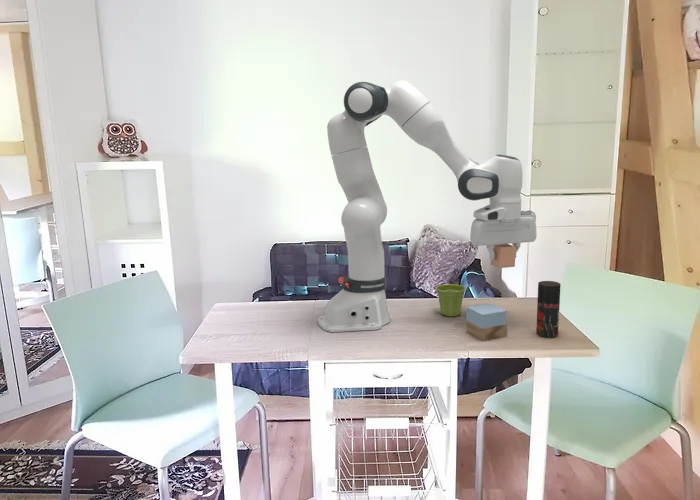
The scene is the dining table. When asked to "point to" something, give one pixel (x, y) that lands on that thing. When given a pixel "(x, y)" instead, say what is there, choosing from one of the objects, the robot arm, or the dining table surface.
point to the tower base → (487, 331)
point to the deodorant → (548, 309)
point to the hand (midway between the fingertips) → (502, 258)
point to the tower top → (486, 315)
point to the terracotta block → (504, 256)
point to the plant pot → (450, 298)
